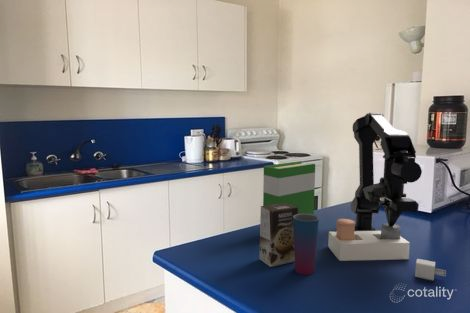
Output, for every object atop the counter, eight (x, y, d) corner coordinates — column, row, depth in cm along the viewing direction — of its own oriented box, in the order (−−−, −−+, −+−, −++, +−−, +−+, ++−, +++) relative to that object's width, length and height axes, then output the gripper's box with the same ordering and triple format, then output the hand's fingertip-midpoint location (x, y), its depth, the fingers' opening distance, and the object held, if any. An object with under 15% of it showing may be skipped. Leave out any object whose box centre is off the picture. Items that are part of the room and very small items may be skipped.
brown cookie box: (270, 267, 103) (271, 211, 100) (258, 259, 108) (259, 205, 106) (297, 261, 107) (299, 207, 105) (284, 253, 113) (285, 201, 110)
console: (328, 246, 118) (328, 231, 117) (391, 245, 119) (392, 230, 118) (339, 260, 107) (340, 244, 107) (408, 259, 109) (409, 242, 108)
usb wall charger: (416, 271, 101) (417, 257, 100) (445, 277, 97) (446, 263, 97) (414, 277, 97) (415, 263, 97) (445, 284, 94) (446, 269, 93)
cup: (318, 267, 103) (320, 214, 101) (315, 277, 97) (317, 222, 95) (294, 263, 105) (295, 212, 103) (289, 274, 99) (290, 219, 97)
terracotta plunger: (333, 236, 115) (334, 218, 114) (350, 235, 115) (351, 218, 114) (339, 242, 109) (340, 224, 109) (356, 242, 110) (357, 224, 109)
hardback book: (298, 224, 140) (299, 161, 136) (313, 229, 134) (315, 164, 131) (262, 234, 129) (263, 166, 126) (277, 240, 123) (279, 169, 120)
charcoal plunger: (377, 240, 116) (378, 223, 115) (393, 240, 116) (395, 223, 115) (385, 246, 111) (386, 229, 110) (402, 246, 111) (403, 228, 110)
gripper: (355, 170, 119) (353, 217, 121) (381, 182, 101) (378, 237, 103) (389, 169, 120) (386, 216, 122) (421, 181, 101) (417, 236, 103)
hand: (390, 226), depth 113 cm, fingers closed, pressing on charcoal plunger
